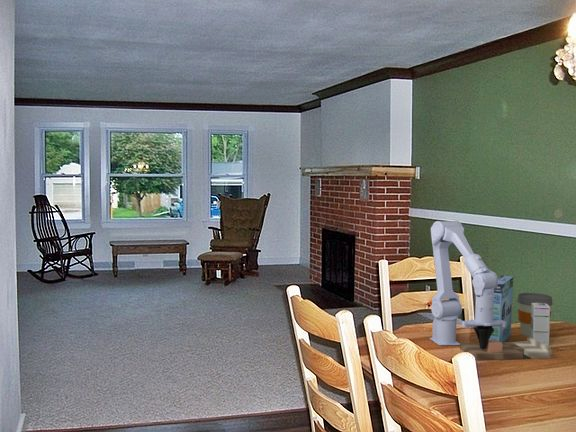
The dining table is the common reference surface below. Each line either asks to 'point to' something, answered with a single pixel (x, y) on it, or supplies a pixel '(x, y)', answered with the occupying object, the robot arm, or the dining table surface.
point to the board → (510, 350)
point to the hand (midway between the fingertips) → (482, 348)
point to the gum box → (503, 308)
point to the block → (494, 346)
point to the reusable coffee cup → (529, 309)
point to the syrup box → (540, 322)
